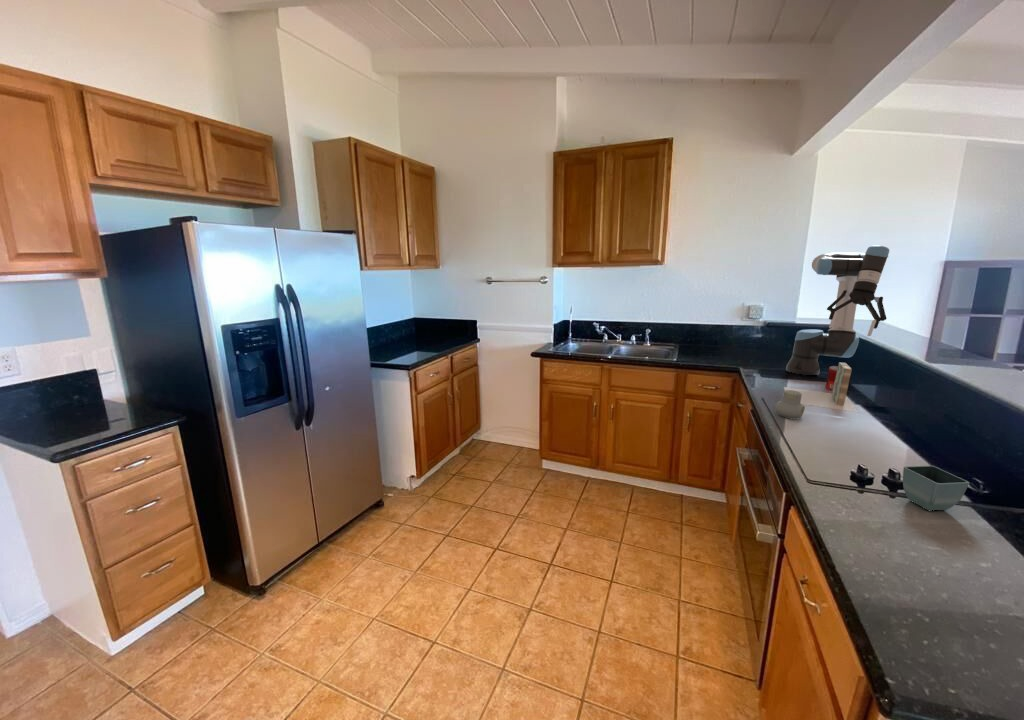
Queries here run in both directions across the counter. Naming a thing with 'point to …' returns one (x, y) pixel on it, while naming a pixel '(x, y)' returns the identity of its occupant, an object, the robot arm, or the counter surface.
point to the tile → (841, 383)
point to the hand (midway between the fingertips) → (849, 331)
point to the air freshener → (790, 405)
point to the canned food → (831, 377)
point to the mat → (822, 400)
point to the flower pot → (933, 487)
